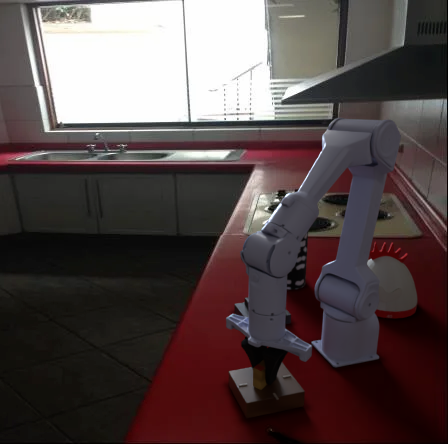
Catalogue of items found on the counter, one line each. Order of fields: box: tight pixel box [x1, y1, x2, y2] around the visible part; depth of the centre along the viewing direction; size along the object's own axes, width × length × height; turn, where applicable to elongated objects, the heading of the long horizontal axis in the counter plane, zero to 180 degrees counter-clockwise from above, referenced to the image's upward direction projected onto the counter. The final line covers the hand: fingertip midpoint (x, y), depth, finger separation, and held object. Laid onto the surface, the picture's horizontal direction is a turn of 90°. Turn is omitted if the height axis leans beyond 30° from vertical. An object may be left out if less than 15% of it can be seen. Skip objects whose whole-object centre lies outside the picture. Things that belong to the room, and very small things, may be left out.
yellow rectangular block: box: [253, 360, 267, 390], centre depth 69 cm, size 5×2×4 cm, turn 134°
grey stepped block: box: [233, 296, 292, 325], centre depth 93 cm, size 10×8×4 cm
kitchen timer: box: [367, 241, 418, 319], centre depth 95 cm, size 14×14×15 cm
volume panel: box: [228, 362, 306, 419], centre depth 70 cm, size 10×9×3 cm
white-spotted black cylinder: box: [273, 206, 309, 290], centre depth 107 cm, size 8×8×20 cm
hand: (265, 378), depth 70 cm, fingers closed on yellow rectangular block, 2 cm apart
